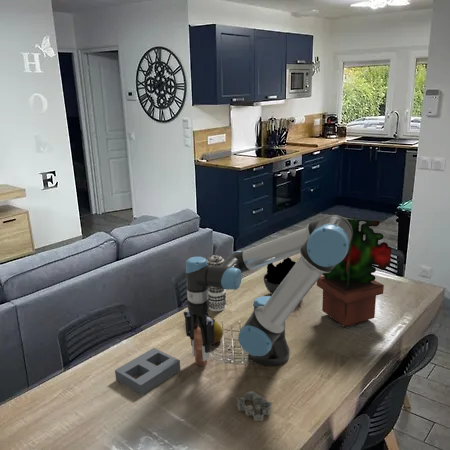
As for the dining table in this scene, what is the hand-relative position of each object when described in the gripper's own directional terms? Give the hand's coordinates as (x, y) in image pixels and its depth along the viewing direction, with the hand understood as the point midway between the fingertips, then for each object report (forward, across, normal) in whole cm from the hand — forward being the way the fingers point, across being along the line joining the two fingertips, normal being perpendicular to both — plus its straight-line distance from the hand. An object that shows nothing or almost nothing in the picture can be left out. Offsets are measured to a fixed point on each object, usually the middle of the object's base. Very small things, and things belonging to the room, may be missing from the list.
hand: (200, 356), depth 169 cm
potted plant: (+3, +28, +64) cm, 70 cm away
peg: (+3, 0, 0) cm, 3 cm away
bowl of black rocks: (+3, -6, +66) cm, 66 cm away
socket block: (+3, -10, -17) cm, 20 cm away
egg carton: (+3, +31, -9) cm, 32 cm away
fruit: (+3, -7, +14) cm, 16 cm away
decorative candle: (+3, -25, +38) cm, 46 cm away
